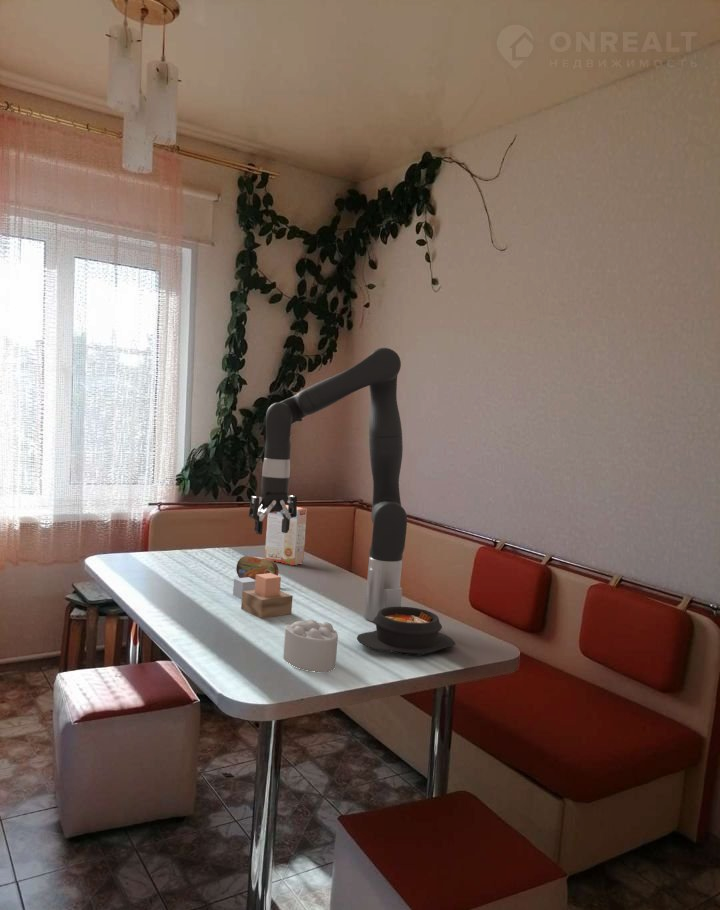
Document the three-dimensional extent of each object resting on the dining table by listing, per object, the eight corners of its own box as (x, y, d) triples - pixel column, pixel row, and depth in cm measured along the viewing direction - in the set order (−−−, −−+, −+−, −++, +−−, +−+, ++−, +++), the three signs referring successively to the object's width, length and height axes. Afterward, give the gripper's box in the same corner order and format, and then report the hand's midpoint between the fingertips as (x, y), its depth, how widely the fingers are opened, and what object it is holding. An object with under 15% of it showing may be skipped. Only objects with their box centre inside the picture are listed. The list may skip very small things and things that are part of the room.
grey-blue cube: (256, 597, 212) (257, 580, 211) (241, 599, 208) (243, 582, 208) (247, 593, 215) (248, 577, 215) (232, 595, 212) (234, 578, 212)
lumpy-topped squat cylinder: (316, 650, 169) (318, 614, 169) (346, 668, 159) (349, 630, 158) (277, 656, 163) (280, 619, 163) (306, 675, 153) (309, 636, 152)
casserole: (433, 633, 190) (436, 602, 189) (468, 658, 172) (471, 624, 172) (345, 637, 180) (348, 605, 180) (373, 663, 163) (376, 628, 163)
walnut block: (291, 613, 197) (292, 595, 197) (260, 618, 191) (262, 600, 190) (271, 604, 205) (272, 587, 205) (241, 608, 198) (242, 591, 198)
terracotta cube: (279, 594, 197) (280, 577, 197) (264, 596, 194) (265, 578, 194) (269, 590, 201) (270, 573, 201) (254, 592, 198) (255, 574, 197)
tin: (234, 579, 231) (236, 554, 230) (240, 578, 234) (242, 552, 233) (273, 588, 224) (275, 561, 223) (278, 586, 227) (280, 560, 226)
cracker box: (303, 564, 261) (308, 508, 260) (293, 566, 256) (298, 509, 255) (274, 557, 269) (278, 502, 267) (263, 559, 263) (267, 503, 262)
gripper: (261, 476, 188) (257, 537, 189) (304, 476, 198) (300, 534, 198) (246, 473, 194) (242, 532, 195) (289, 473, 203) (285, 529, 204)
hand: (271, 533), depth 197 cm, fingers open, 8 cm apart
